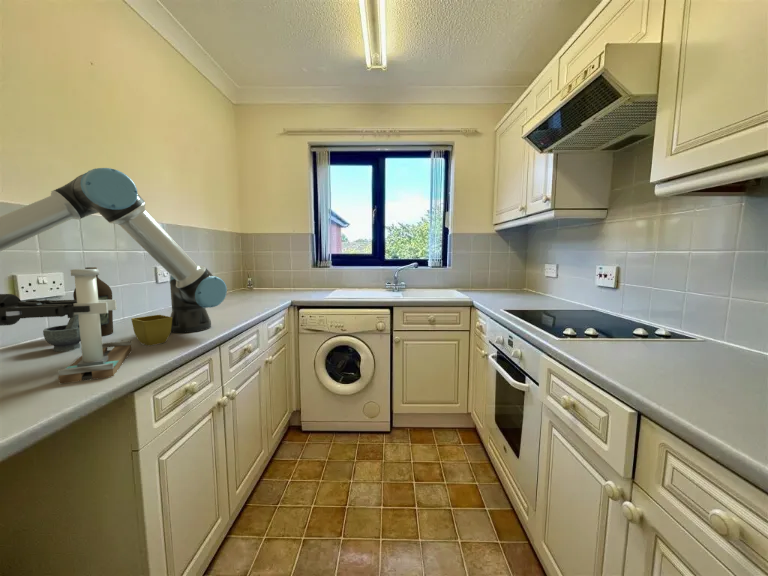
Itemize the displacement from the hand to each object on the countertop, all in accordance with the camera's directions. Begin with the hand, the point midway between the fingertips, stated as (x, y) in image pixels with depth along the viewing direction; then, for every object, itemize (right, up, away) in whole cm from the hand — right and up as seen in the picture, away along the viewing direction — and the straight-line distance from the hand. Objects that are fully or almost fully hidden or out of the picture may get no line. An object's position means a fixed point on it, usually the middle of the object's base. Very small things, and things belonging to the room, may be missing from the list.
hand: (111, 306), depth 83 cm
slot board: (-8, -17, +6) cm, 19 cm away
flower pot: (-8, -14, +26) cm, 31 cm away
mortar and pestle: (-31, -15, +20) cm, 40 cm away
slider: (-5, -15, 0) cm, 16 cm away
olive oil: (-36, -13, +36) cm, 53 cm away
